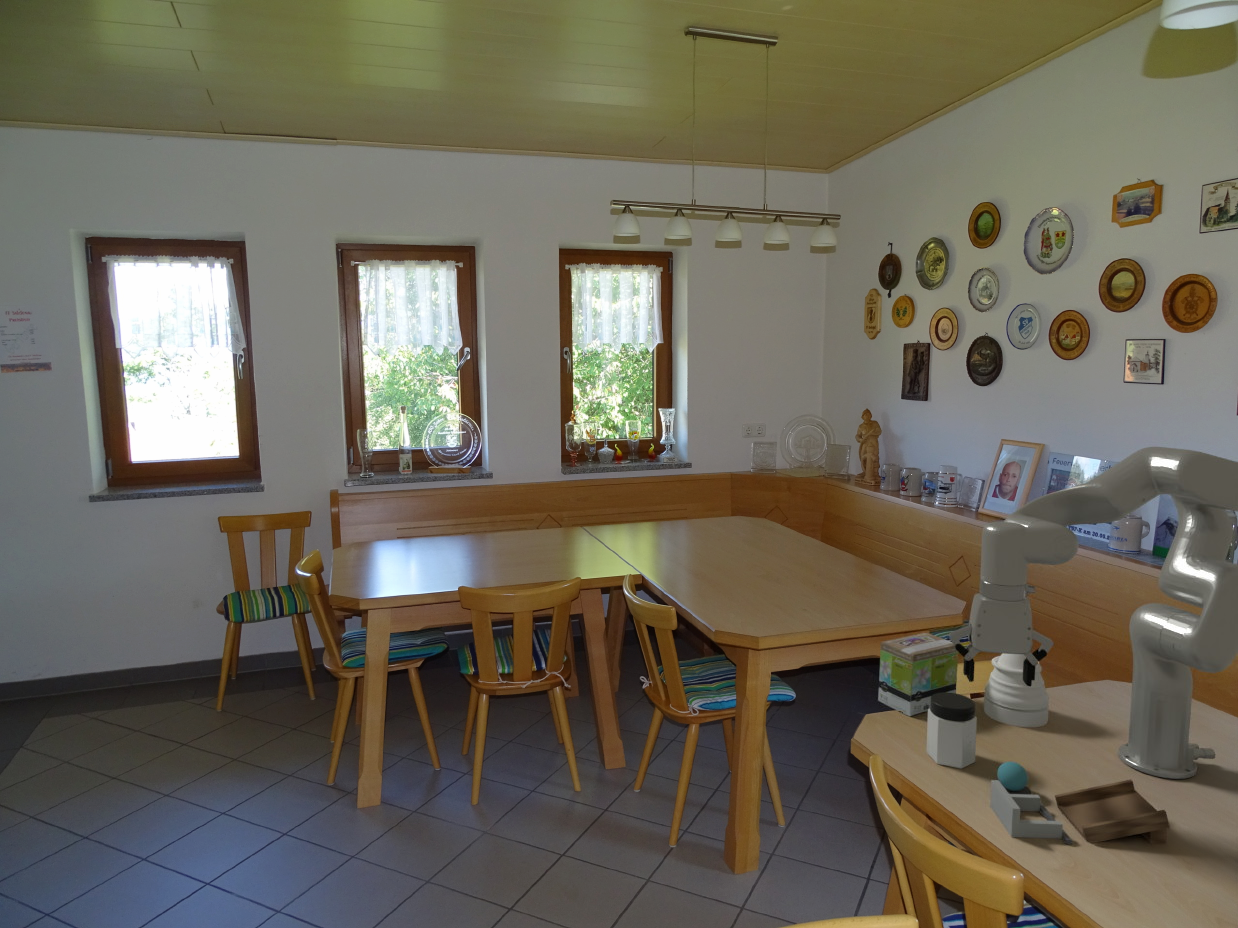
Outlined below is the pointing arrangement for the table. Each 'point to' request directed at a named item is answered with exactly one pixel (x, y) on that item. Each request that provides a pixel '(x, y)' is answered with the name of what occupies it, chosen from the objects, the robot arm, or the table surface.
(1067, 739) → the table surface
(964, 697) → the jar
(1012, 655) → the honey pot
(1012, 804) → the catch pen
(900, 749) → the table surface
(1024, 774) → the ball
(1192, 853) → the table surface
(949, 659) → the tea box
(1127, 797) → the ramp
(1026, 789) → the dark grey disc
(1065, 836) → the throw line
